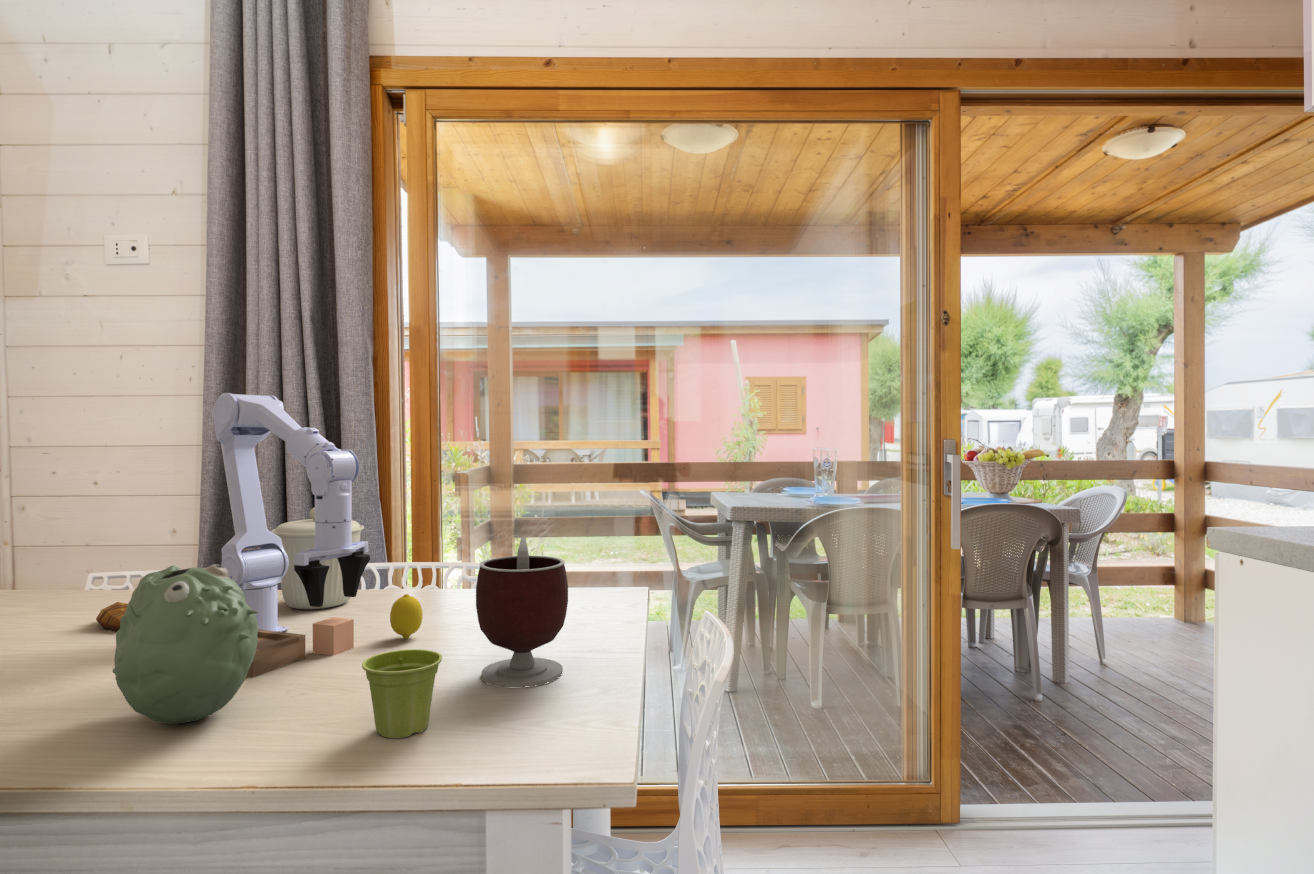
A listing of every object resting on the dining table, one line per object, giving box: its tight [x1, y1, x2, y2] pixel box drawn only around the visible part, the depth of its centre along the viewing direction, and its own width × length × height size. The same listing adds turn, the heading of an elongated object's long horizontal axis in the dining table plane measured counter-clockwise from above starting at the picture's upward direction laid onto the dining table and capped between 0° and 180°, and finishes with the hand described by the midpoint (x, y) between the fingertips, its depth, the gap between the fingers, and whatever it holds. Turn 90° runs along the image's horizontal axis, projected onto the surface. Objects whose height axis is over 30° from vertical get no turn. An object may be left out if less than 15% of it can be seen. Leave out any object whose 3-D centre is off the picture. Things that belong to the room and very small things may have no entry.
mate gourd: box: [475, 535, 569, 688], centre depth 112 cm, size 16×14×20 cm
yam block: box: [312, 616, 355, 656], centre depth 123 cm, size 4×4×5 cm
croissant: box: [95, 601, 128, 632], centre depth 138 cm, size 14×7×5 cm, turn 54°
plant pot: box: [361, 648, 443, 739], centre depth 90 cm, size 9×9×9 cm
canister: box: [270, 506, 365, 610], centre depth 156 cm, size 18×18×21 cm
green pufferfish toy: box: [112, 563, 258, 725], centre depth 93 cm, size 16×19×20 cm
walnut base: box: [246, 629, 306, 678], centre depth 116 cm, size 10×10×4 cm
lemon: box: [389, 593, 424, 640], centre depth 130 cm, size 6×6×8 cm
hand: (333, 601), depth 123 cm, fingers open, 7 cm apart
